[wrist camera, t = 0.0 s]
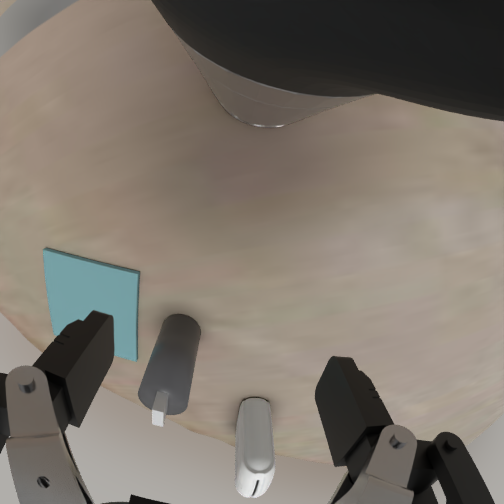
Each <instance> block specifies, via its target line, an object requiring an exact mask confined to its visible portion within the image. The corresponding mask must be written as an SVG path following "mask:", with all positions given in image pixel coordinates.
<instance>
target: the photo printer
mask: <svg viewBox="0 0 504 504" xmlns="http://www.w3.org/2000/svg"><path fill="white" fill-rule="evenodd" d="M235 437H236V452H235V453H236V454H235V457H236V458H235V459H236V460H235V461H236V462H235V485H236V489H237V491H238V492H239V493H240V494H241V495H242V496H244V497H246V498H248V497H254V498H256V497H259V496H260V495H262V494H263V493H264V492H265V491H266V490H267V489H268V487H269V486H270V484H271V482H272V479H273V476H274V472H275V452H274V440H273V429H272V419H271V409H270V404H269V402H266V400H264V399H261V398H249V399H246V400H245V401H242V403H241V406H240V410H239V414H238V420H237V426H236V435H235Z"/></svg>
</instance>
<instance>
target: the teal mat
mask: <svg viewBox="0 0 504 504" xmlns="http://www.w3.org/2000/svg"><path fill="white" fill-rule="evenodd" d="M43 259H44V270H45V280H46V289H47V296H48V303H49V310H50V316H51V321H52V327H53V332H54V335H56V336H58V335H60V332H61V331H62V330H63V329H64V328H65V327H66V325H68V324H70V323H72V322H74V321H76V320H78V319H79V320H82V321H84V319H85V318H86V317H87V316H88V315H89V314H90V312H91V311H93V310H96V311H99V312H102V313H106V314H109V315H112V316H113V318H114V347H115V351H114V355H115V356H118V357H121V358H125V359H128V360H132V361H136V362H137V359H138V297H139V277H140V272H139V271H135V270H131V269H126V268H122V267H118V266H114V265H110V264H106V263H102V262H98V261H94V260H90V259H86V258H82V257H78V256H75V255H71V254H67V253H63V252H60V251H56V250H52V249H49V248H45V249H43Z"/></svg>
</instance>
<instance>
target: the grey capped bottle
mask: <svg viewBox="0 0 504 504" xmlns="http://www.w3.org/2000/svg"><path fill="white" fill-rule="evenodd" d="M200 335H201V329H200V326H199V325H198V323H197V322H196V321H195V320H194V319H192V318H191V317H189V316H186V315H182V314H175V315H171V316H169V317H168V318H167V319H166V320H165V321H164V323H163V326H162V328H161V331H160V333H159V336H158V339H157V341H156V344H155V347H154V349H153V352H152V355H151V357H150V360H149V363H148V365H147V368H146V371H145V374H144V377H143V379H142V382H141V385H140V388H139V391H138V397H139V399H140V401H141V402H142V403H143V404H144V405H145V406H146V407H148V408H149V409H151V410H152V424H153V425H158V426H162V427H163V426H164V421H165V417H166V415H176V414H180V413H182V412H184V411H185V410H186V408H187V406H188V400H189V394H190V388H191V383H192V377H193V372H194V367H195V361H196V356H197V351H198V345H199V340H200Z"/></svg>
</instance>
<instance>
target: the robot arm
mask: <svg viewBox="0 0 504 504" xmlns="http://www.w3.org/2000/svg"><path fill="white" fill-rule="evenodd" d="M151 1H152V2H153V3H154V5H155V6H156V8H157V9H158V10H159V12H160V13H161V15H162V16H163V18H164V19H165V20H166V22H167V23H168V25H169V26H170V27H171V28H172V30H173V31H174V33H175V34H176V36H177V37H178V39H179V40H180V42H181V43H182V45H183V46H184V48H185V49H186V51H187V52H188V54H189V55H190V57H191V58H192V60H193V61H194V62H195V64H196V65H197V67H198V69H199V70H200V72H201V73H202V75H203V77H204V78H205V80H206V81H207V83H208V85H209V86H210V88H211V90H212V91H213V93H214V95H215V96H216V98H217V99H218V101H219V102H220V104H221V105H222V106H223V108H224V109H225V110H226V111H227V112H228V113H229V114H231V115H232V116H233V117H234V118H236V119H238V120H240V121H242V122H243V123H246V124H249V125H252V126H256V127H264V128H272V127H281V126H285V125H288V124H291V123H294V122H296V121H299V120H302V119H304V118H307V117H310V116H312V115H315V114H318V113H321V112H323V111H326V110H329V109H332V108H335V107H338V106H341V105H344V104H346V103H350V102H353V101H356V100H358V99H361V98H364V97H368V96H371V95H374V94H381V95H386V96H390V97H394V98H397V99H401V100H405V101H409V102H413V103H417V104H420V105H424V106H428V107H432V108H436V109H440V110H444V111H449V112H454V113H458V114H463V115H468V116H474V117H479V118H485V119H491V120H498V121H504V0H151ZM114 351H115V347H114V318H113V316H112V315H109V314H106V313H102V312H99V311H96V310H93V311H91V312H90V314H89V315H88V316H87V317H86V318H85V319H84V321H82V320H79V319H78V320H76V321H74V322H72V323H70V324H68V325H66V327H65V328H64V329H63V330H62V331H61V332H60V335H58V336H57V337H56V338H55V339H54V342H53V341H52V343H51V344H50V345H49V346H48V347H47V349H46V350H45V351H44V352H43V353H42V355H41V356H40V357H39V358H38V359H37V361H36V362H35V363H34V364H33V366H20V367H17V368H15V369H13V370H12V371H11V372H10V373H9V374H4V373H0V453H1V451H2V449H3V447H4V445H5V443H6V448H7V454H8V458H9V464H10V468H11V473H12V477H13V481H14V485H15V488H16V492H17V495H18V499H19V502H20V504H94V502H93V500H92V498H91V496H90V494H89V492H88V490H87V488H86V486H85V484H84V481H83V479H82V477H81V475H80V472H79V470H78V467H77V465H76V462H75V459H74V457H73V454H72V451H71V448H70V446H69V443H68V440H67V436H66V434H65V430H66V428H67V426H68V424H71V425H73V426H76V427H78V428H79V427H80V425H81V423H82V421H83V419H84V417H85V415H86V413H87V411H88V409H89V407H90V405H91V402H92V400H93V399H94V396H95V395H96V393H97V391H98V389H99V387H100V385H101V383H102V381H103V379H104V377H105V376H106V374H107V372H108V370H109V368H110V366H111V364H112V361H113V358H114ZM379 397H380V396H379V394H378V392H377V391H375V387H374V385H373V383H372V381H371V379H370V378H369V377H367V376H366V375H365V374H364V373H363V372H362V371H359V370H358V368H357V366H356V364H355V362H354V360H353V359H352V358H350V357H337V356H332V357H331V358H330V359H329V361H328V363H327V365H326V367H325V370H324V372H323V374H322V376H321V378H320V380H319V382H318V384H317V387H316V390H315V401H316V404H317V408H318V411H319V414H320V418H321V421H322V424H323V428H324V431H325V435H326V438H327V442H328V445H329V449H330V452H331V456H332V459H333V463H334V466H335V467H337V466H347V468H348V471H347V472H346V473H345V475H344V476H343V478H342V480H341V482H340V483H339V485H338V487H337V489H336V491H335V492H334V494H333V496H332V497H331V499H330V501H329V502H328V504H438V502H437V499H436V497H435V494H434V492H433V489H432V487H431V485H432V484H434V483H435V482H436V481H437V480H439V482H440V484H441V487H442V489H443V491H444V494H445V496H446V504H495V503H494V501H493V499H492V497H491V495H490V492H489V490H488V488H487V486H486V484H485V482H484V480H483V479H482V477H481V475H480V473H479V471H478V469H477V467H476V465H475V463H474V462H473V460H472V458H471V456H470V454H469V452H468V451H467V449H466V447H465V445H464V444H463V442H462V440H461V439H460V438H459V437H458V436H456V435H455V434H453V433H450V432H442V433H440V434H438V435H437V437H436V438H435V439H434V440H433V441H423V440H416V438H415V436H414V434H413V433H412V432H411V431H410V430H408V429H407V428H405V427H403V426H400V425H394V423H393V421H392V419H391V417H390V415H389V413H388V411H387V409H386V407H385V406H384V404H383V402H382V400H381V398H379ZM9 436H11V437H10V438H8V437H9ZM102 504H169V503H163V502H159V501H155V500H151V499H146V498H142V497H139V496H135V495H131V497H130V501H129V502H109V503H102Z"/></svg>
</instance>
